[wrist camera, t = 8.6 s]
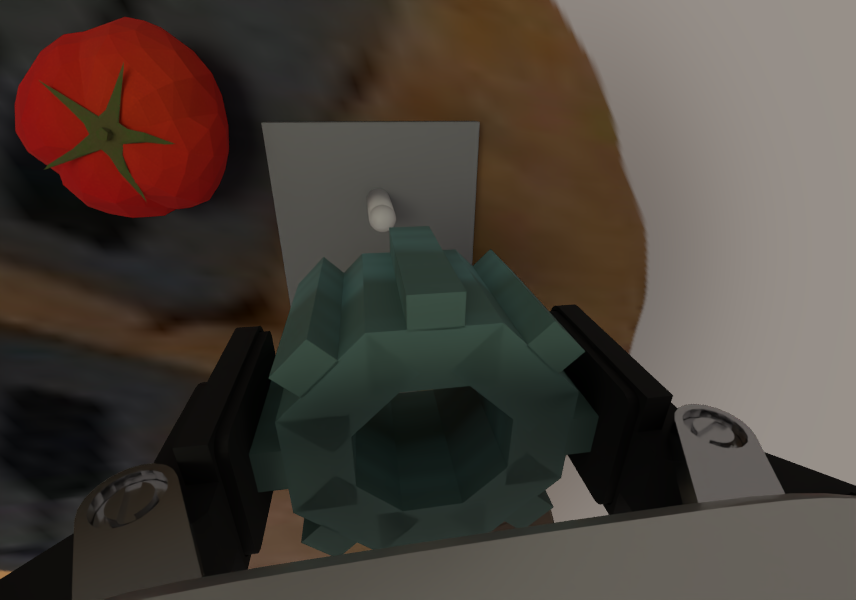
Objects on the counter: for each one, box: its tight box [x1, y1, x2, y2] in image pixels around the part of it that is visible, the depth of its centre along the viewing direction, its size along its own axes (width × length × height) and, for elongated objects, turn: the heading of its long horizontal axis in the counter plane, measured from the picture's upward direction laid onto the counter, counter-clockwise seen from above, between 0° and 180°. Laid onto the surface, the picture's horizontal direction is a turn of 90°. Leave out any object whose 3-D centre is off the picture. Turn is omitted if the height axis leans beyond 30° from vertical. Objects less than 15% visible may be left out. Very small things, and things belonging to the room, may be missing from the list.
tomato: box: [15, 17, 229, 218], centre depth 22 cm, size 9×10×8 cm
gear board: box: [261, 121, 480, 306], centre depth 29 cm, size 14×18×7 cm
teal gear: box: [249, 226, 599, 556], centre depth 10 cm, size 7×7×4 cm
